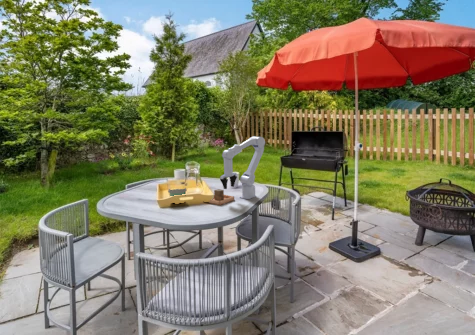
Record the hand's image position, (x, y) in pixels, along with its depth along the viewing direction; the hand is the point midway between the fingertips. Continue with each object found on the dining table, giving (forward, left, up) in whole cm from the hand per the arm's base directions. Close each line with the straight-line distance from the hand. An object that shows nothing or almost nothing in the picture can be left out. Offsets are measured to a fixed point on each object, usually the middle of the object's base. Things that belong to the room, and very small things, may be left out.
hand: (228, 187), depth 204 cm
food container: (+24, -25, -10) cm, 36 cm away
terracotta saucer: (+4, -6, -9) cm, 12 cm away
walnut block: (+4, -6, -9) cm, 11 cm away
